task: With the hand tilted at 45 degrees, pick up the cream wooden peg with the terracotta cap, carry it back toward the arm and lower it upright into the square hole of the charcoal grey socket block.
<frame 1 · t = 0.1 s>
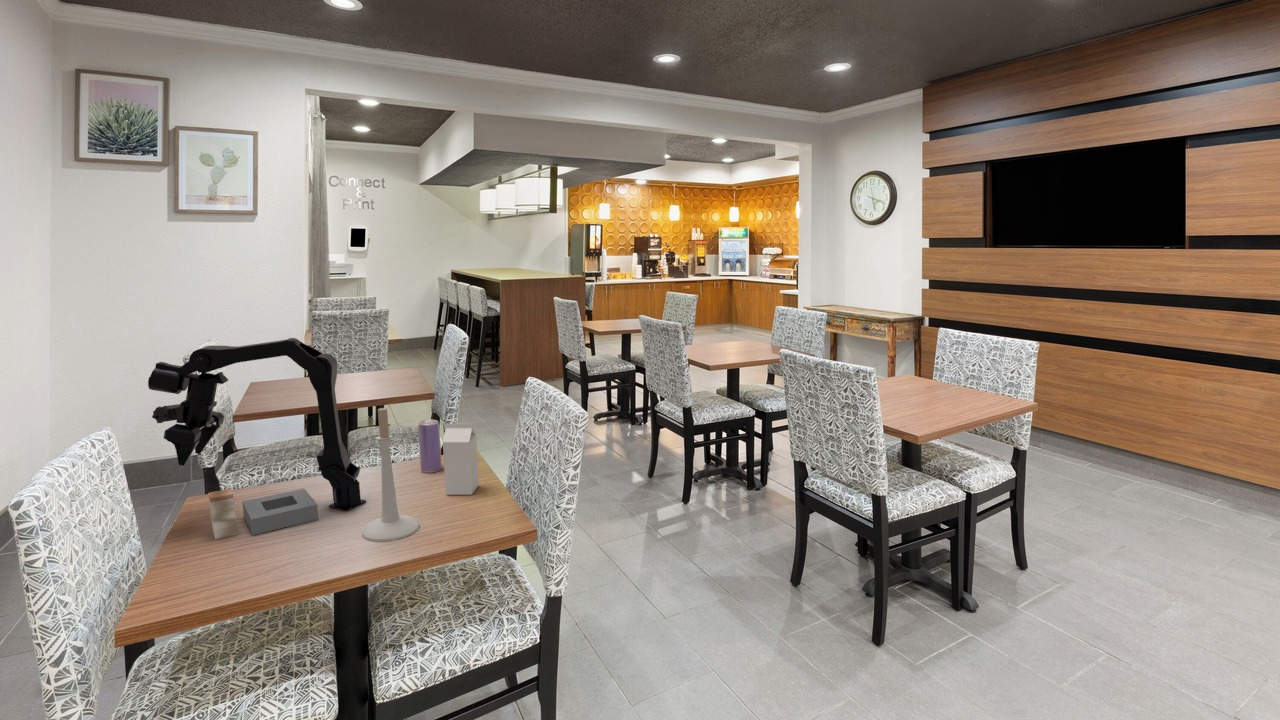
hand: (189, 459, 155), 15 cm above the table, tool pointing down, fingers open, 9 cm apart
socket block: (280, 518, 158), on the table
beverage can: (431, 470, 193), on the table
peg: (225, 533, 150), on the table
candlestick: (391, 530, 152), on the table
milk carton: (462, 491, 176), on the table
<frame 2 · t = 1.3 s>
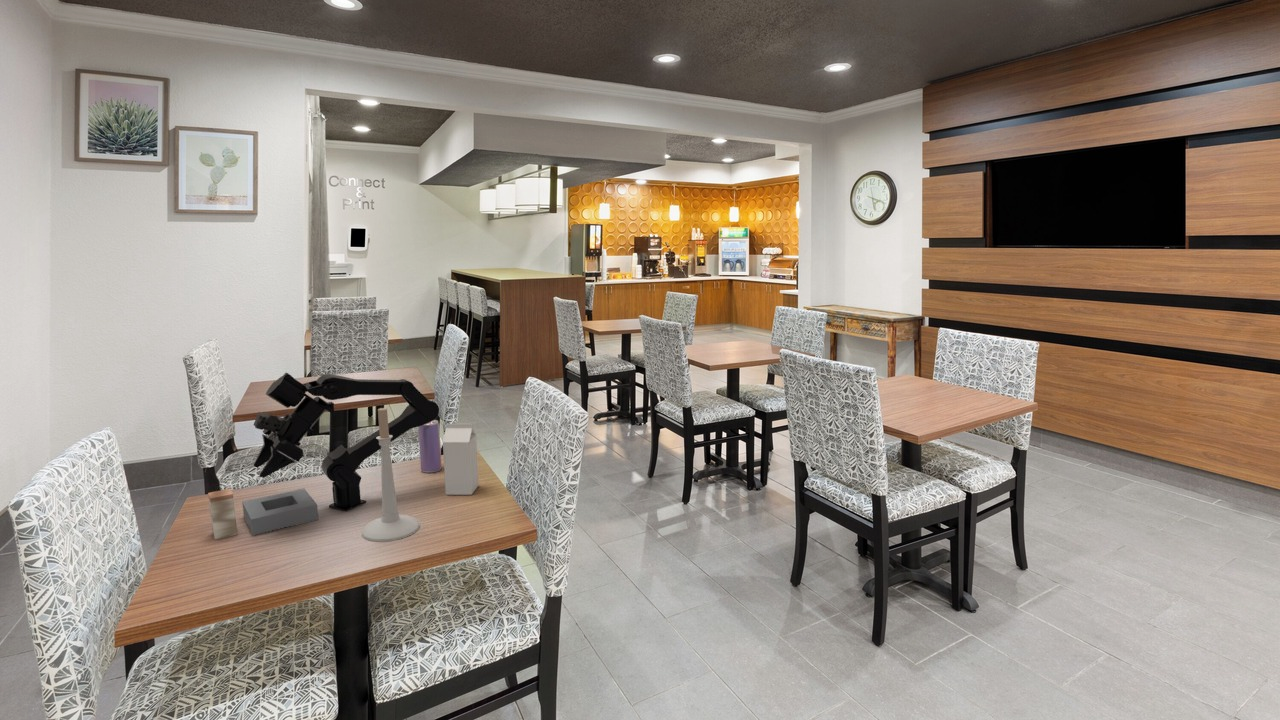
hand: (258, 471, 153), 13 cm above the table, tool tilted 45°, fingers open, 9 cm apart
nothing on the table moved.
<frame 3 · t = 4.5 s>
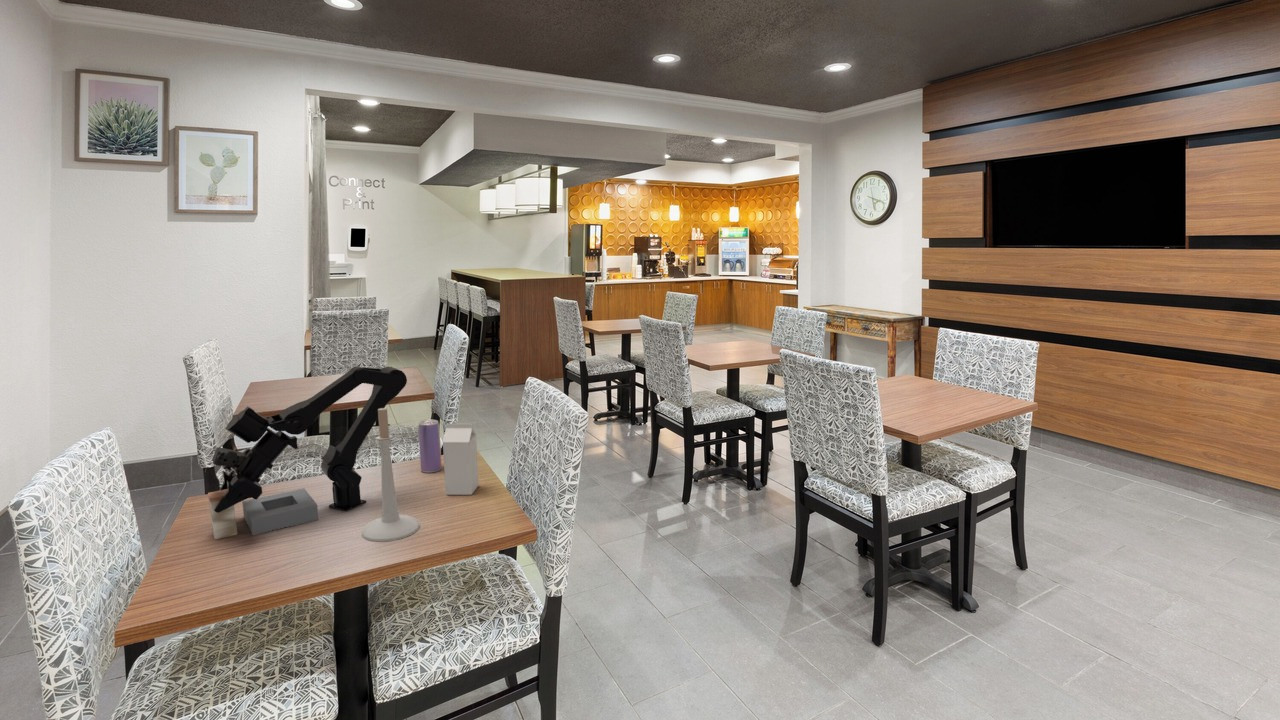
hand: (214, 508, 148), 7 cm above the table, tool tilted 45°, fingers closed on peg, 4 cm apart
peg: (225, 533, 150), on the table, touching gripper
everything else where it was.
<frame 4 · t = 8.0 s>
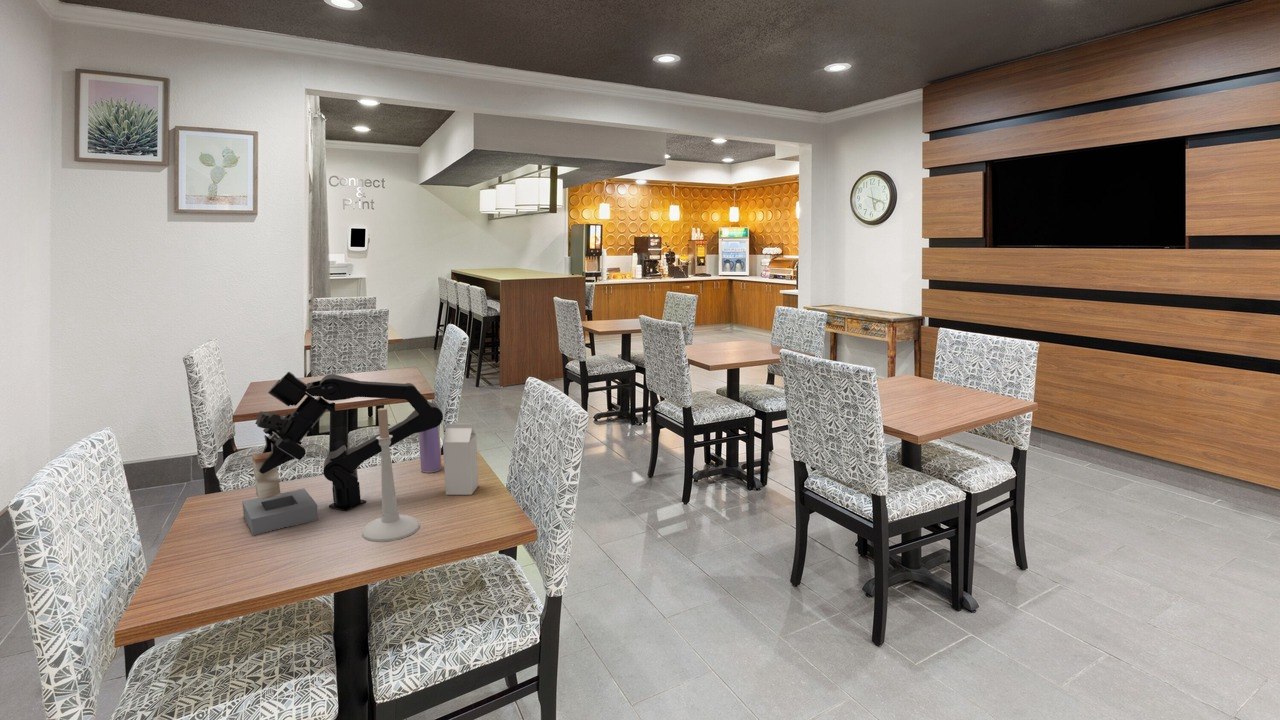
hand: (258, 470, 153), 13 cm above the table, tool tilted 45°, fingers closed on peg, 4 cm apart
peg: (268, 494, 155), point 7 cm above the table, touching gripper
everything else where it was.
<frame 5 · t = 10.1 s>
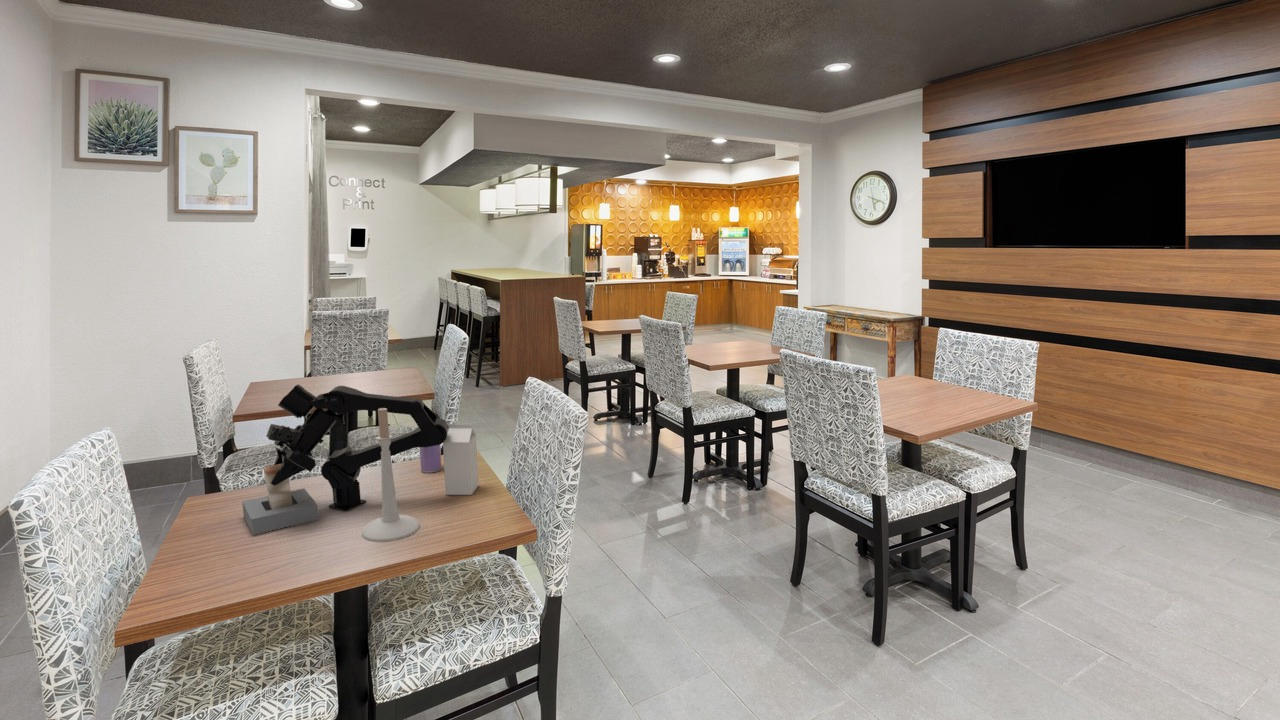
hand: (270, 482, 156), 10 cm above the table, tool tilted 45°, fingers closed on peg, 4 cm apart
peg: (280, 505, 158), point 3 cm above the table, touching gripper
milk carton: (462, 491, 176), on the table, touching arm
everything else where it was.
when the fingers open (7 cm above the table, at t = 11.8 s): peg stays where it is, resting in socket block.
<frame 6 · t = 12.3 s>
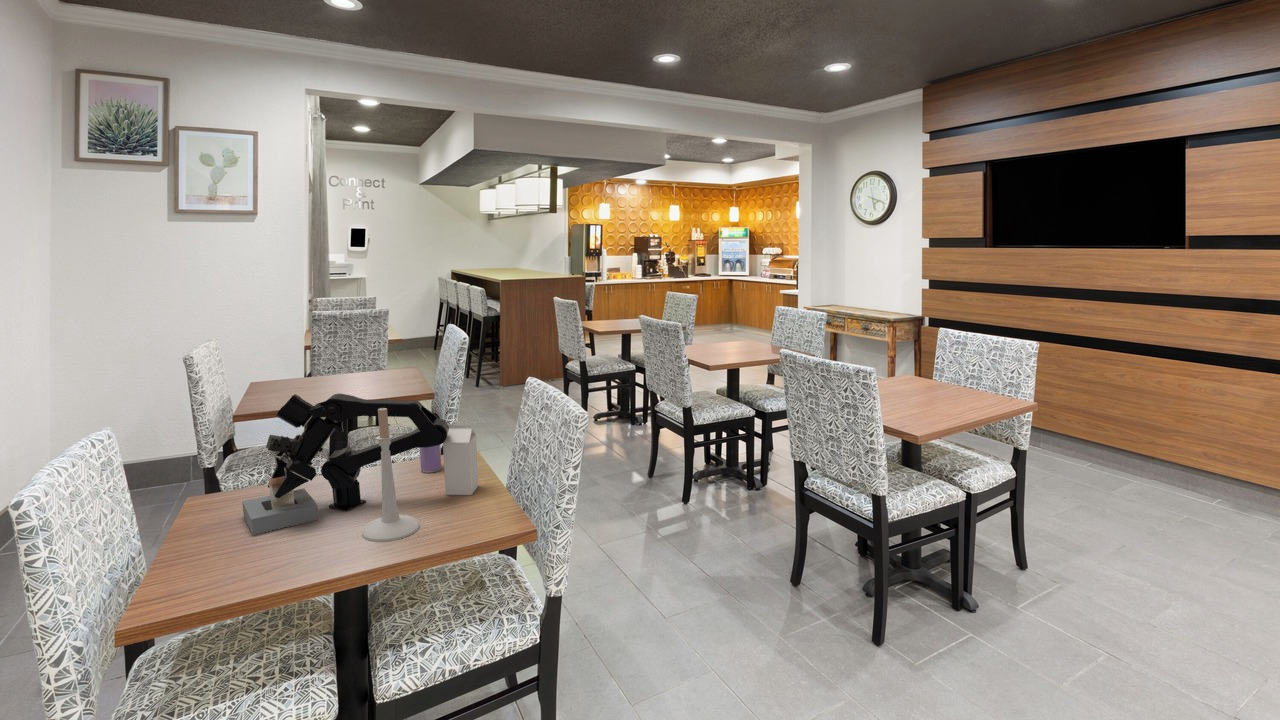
hand: (272, 492, 156), 7 cm above the table, tool tilted 40°, fingers open, 9 cm apart
peg: (284, 518, 158), resting in socket block
everything else where it was.
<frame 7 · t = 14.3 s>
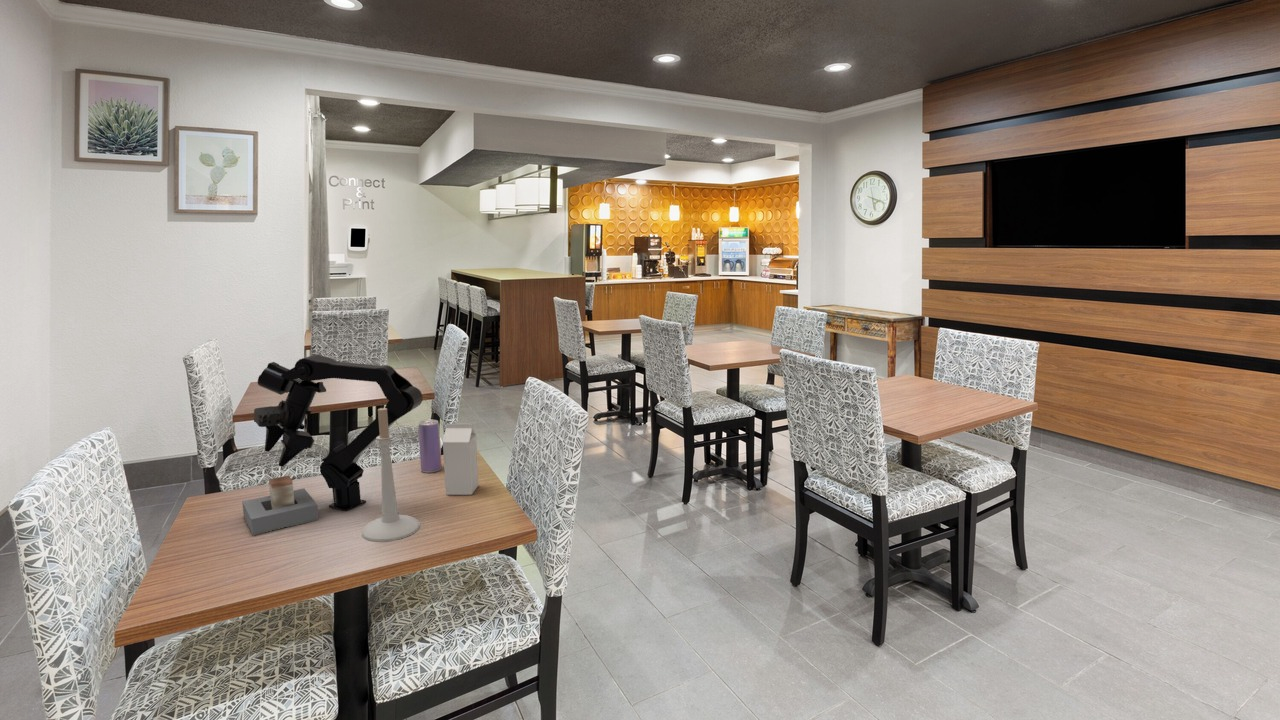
hand: (273, 458, 162), 14 cm above the table, tool tilted 25°, fingers open, 9 cm apart
milk carton: (462, 491, 176), on the table
everything else where it was.
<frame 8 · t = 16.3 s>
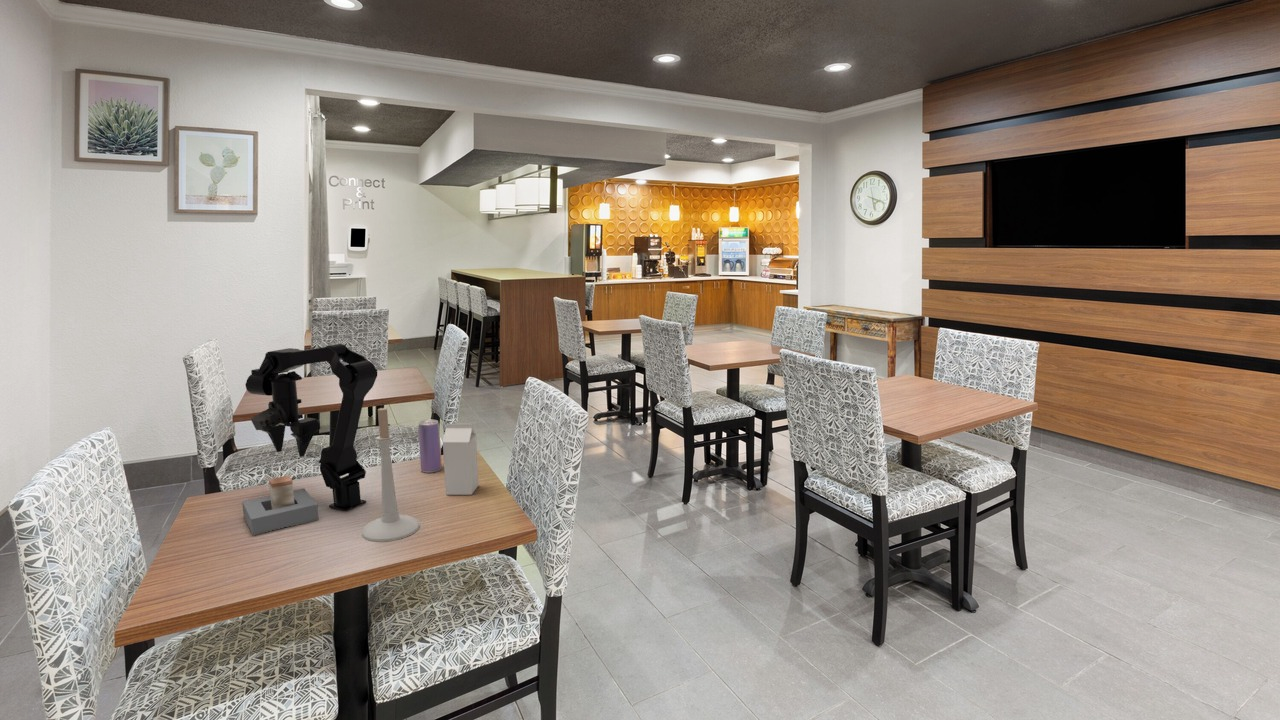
hand: (290, 453, 170), 12 cm above the table, tool pointing down, fingers open, 9 cm apart
nothing on the table moved.
at the end: peg 0.8 cm off-centre on the socket block, point 0.0 cm above the socket block's base; peg tilted 0°; the gripper is holding nothing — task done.
